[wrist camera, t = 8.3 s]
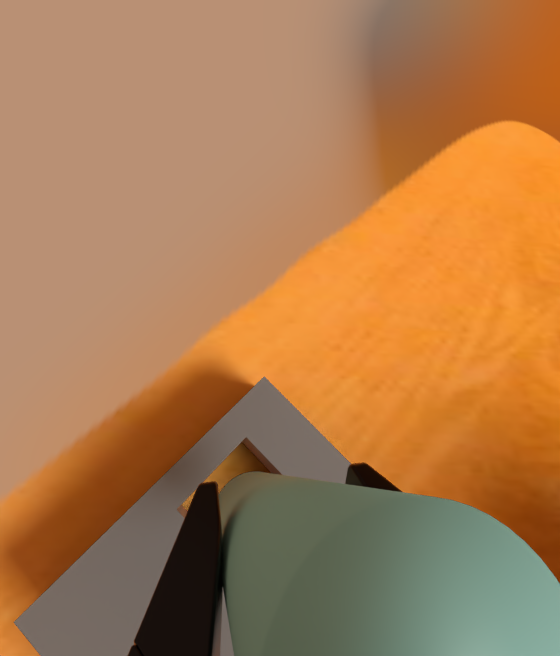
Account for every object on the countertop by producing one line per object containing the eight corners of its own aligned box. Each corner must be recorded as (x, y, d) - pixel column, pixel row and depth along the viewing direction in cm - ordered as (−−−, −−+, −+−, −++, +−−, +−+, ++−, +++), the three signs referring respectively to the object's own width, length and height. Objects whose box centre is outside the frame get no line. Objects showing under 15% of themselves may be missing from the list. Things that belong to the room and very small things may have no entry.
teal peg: (285, 571, 14) (631, 1023, 3) (201, 553, 14) (197, 977, 2) (302, 481, 16) (593, 534, 4) (225, 463, 15) (297, 461, 4)
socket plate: (191, 776, 17) (189, 839, 14) (43, 597, 18) (13, 622, 15) (380, 513, 22) (406, 520, 19) (256, 387, 23) (264, 376, 20)
